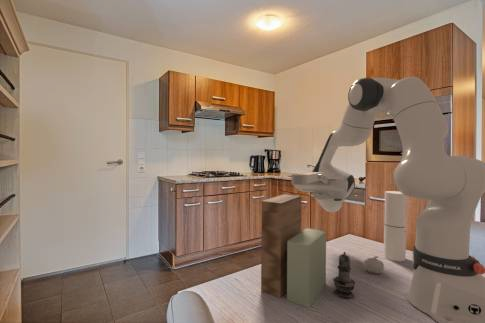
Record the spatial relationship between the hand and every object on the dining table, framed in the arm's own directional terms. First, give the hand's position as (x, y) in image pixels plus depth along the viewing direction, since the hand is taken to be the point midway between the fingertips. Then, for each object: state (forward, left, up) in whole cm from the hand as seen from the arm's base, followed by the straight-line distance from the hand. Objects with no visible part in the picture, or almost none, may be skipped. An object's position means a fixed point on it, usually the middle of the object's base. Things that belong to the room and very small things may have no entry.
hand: (314, 175), depth 93 cm
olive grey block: (-5, +20, -32) cm, 38 cm away
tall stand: (+3, +20, -32) cm, 38 cm away
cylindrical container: (-24, -22, -32) cm, 46 cm away
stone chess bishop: (-14, +16, -32) cm, 38 cm away
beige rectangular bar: (0, +5, -2) cm, 5 cm away
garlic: (-19, -4, -32) cm, 37 cm away
